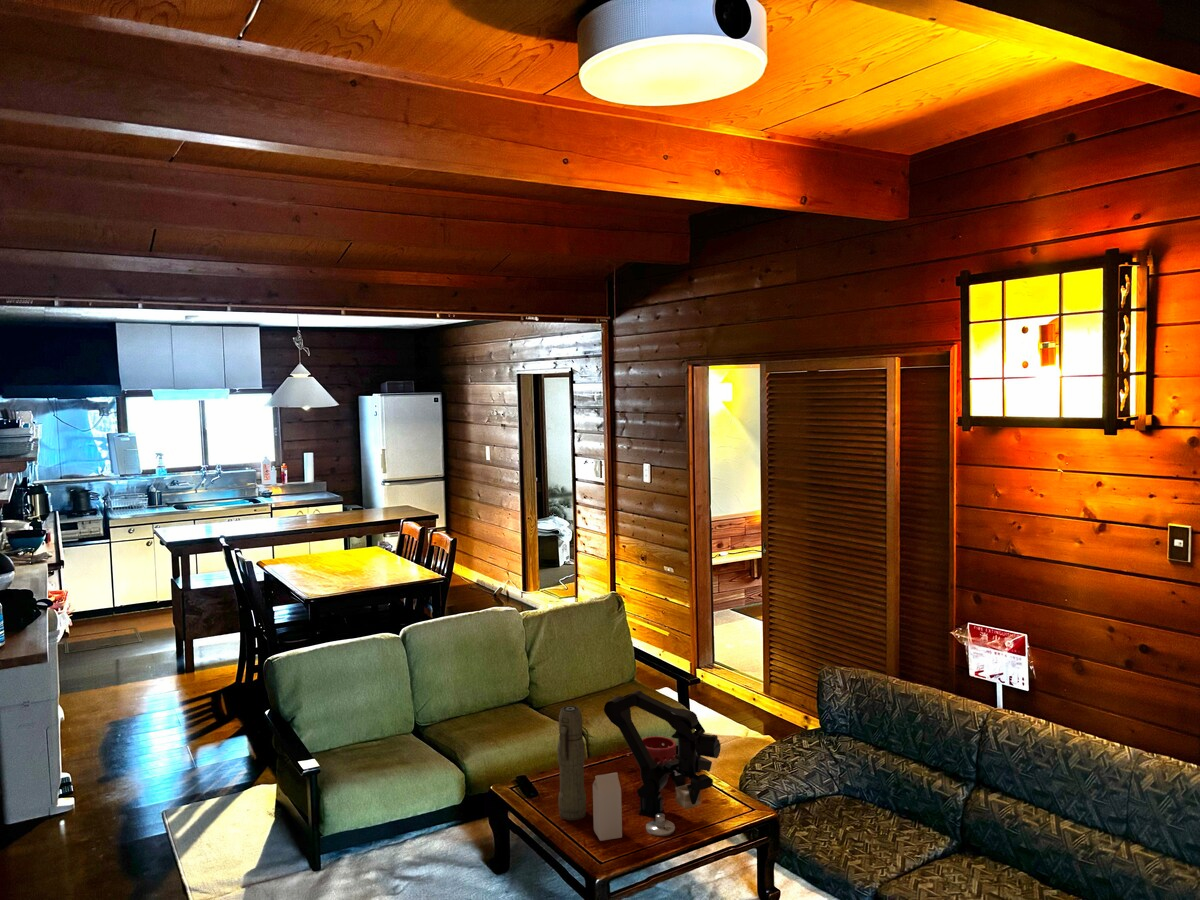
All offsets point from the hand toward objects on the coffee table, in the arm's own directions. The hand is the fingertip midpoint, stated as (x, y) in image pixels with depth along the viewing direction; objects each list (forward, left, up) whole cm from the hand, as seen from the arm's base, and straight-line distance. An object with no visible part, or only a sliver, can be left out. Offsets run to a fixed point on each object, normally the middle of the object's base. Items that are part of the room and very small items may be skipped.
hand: (688, 800), depth 282 cm
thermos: (-36, -10, -7) cm, 38 cm away
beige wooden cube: (0, 0, -1) cm, 1 cm away
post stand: (-6, -9, -6) cm, 13 cm away
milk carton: (-20, -18, -7) cm, 28 cm away
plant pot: (-21, +29, -7) cm, 36 cm away
